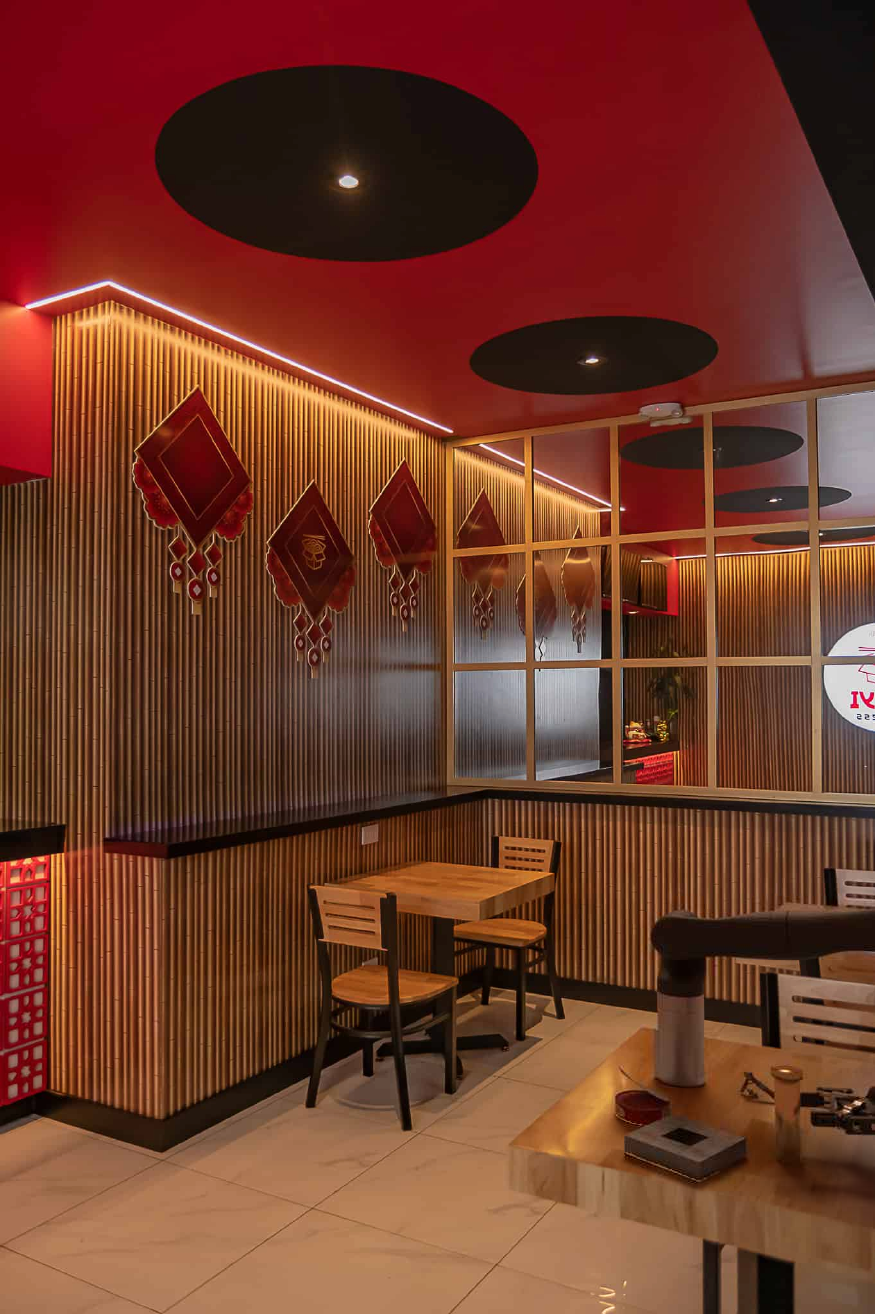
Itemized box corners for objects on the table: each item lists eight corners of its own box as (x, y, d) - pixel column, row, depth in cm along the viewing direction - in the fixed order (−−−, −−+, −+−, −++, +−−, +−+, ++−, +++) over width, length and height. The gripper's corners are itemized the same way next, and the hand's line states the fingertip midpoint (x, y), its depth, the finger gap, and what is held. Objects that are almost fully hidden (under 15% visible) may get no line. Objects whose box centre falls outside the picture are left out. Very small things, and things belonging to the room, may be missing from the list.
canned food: (623, 1133, 178) (624, 1076, 183) (677, 1137, 174) (676, 1078, 179) (604, 1121, 170) (606, 1062, 175) (660, 1125, 165) (660, 1064, 171)
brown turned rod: (738, 1087, 187) (747, 1067, 186) (775, 1114, 182) (784, 1093, 181) (734, 1089, 186) (743, 1069, 185) (771, 1116, 181) (780, 1096, 180)
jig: (624, 1154, 157) (624, 1135, 157) (672, 1132, 166) (672, 1114, 167) (699, 1182, 147) (699, 1162, 147) (746, 1157, 156) (745, 1138, 157)
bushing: (766, 1158, 156) (765, 1069, 157) (781, 1150, 159) (779, 1063, 161) (795, 1168, 152) (793, 1077, 154) (810, 1159, 156) (808, 1070, 157)
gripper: (885, 1073, 163) (788, 1070, 164) (922, 1104, 149) (816, 1100, 150) (886, 1119, 162) (789, 1116, 163) (924, 1154, 148) (818, 1150, 149)
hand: (802, 1108), depth 156 cm, fingers open, 8 cm apart
